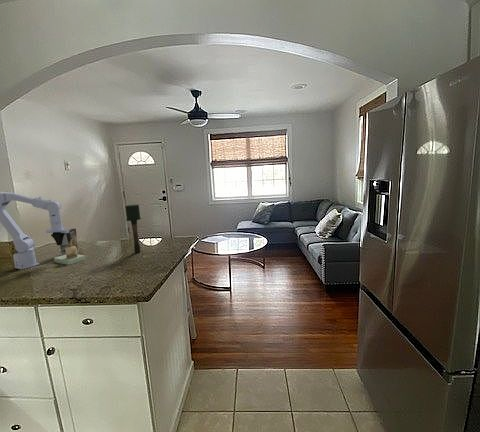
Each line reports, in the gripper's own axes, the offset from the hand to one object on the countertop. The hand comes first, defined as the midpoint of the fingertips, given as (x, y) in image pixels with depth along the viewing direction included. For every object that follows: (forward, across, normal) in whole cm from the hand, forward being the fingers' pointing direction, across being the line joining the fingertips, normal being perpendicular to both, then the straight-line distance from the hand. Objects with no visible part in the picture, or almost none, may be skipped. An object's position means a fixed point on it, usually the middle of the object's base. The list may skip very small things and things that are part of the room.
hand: (59, 244), depth 164 cm
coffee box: (+10, -8, +15) cm, 20 cm away
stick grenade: (+10, +37, +21) cm, 44 cm away
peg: (+10, +7, +1) cm, 12 cm away
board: (+10, +4, +2) cm, 11 cm away
